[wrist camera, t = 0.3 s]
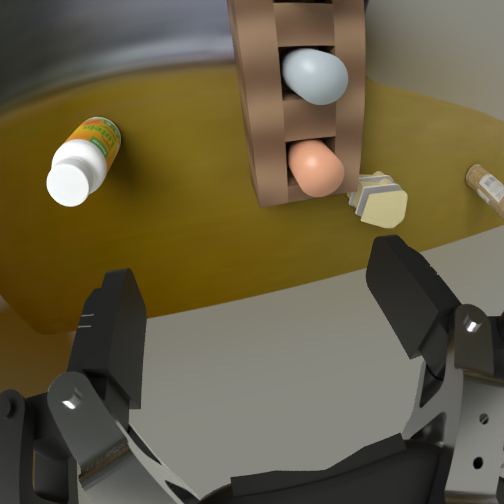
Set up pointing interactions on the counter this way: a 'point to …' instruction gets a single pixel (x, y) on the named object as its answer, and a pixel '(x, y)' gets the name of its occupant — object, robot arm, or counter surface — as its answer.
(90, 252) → the counter surface
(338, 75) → the blue-grey egg
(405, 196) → the stacked layers on plate
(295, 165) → the brown egg
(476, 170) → the sprinkles bottle
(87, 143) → the supplement bottle
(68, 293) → the counter surface
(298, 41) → the button panel
